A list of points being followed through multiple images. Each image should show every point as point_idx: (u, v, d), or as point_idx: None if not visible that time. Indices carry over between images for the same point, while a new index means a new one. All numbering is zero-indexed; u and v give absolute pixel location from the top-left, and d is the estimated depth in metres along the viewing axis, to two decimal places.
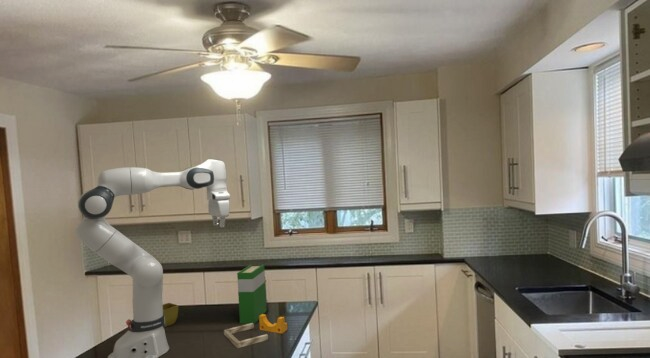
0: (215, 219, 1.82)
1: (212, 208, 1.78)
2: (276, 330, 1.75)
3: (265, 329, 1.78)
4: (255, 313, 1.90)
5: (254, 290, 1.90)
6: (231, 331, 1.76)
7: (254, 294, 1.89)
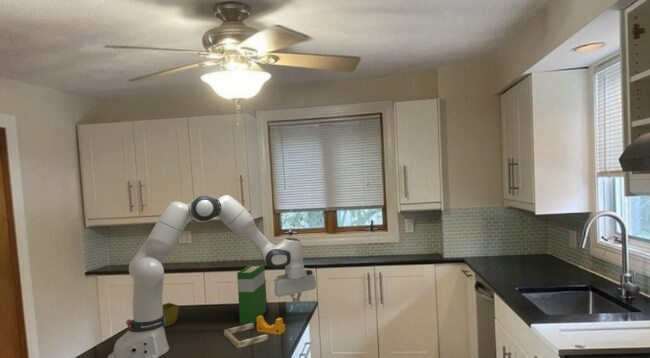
0: None
1: (292, 287, 1.82)
2: (274, 331, 1.74)
3: (263, 331, 1.77)
4: (255, 313, 1.90)
5: (254, 290, 1.90)
6: (231, 331, 1.76)
7: (254, 294, 1.89)
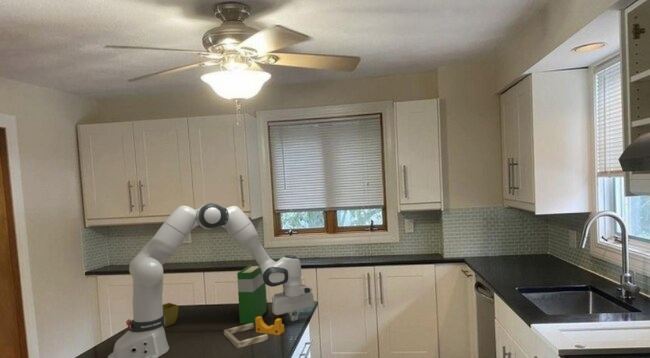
0: None
1: (289, 305, 1.81)
2: (273, 332, 1.73)
3: (262, 331, 1.76)
4: (255, 313, 1.90)
5: (254, 290, 1.90)
6: (231, 331, 1.76)
7: (254, 294, 1.89)
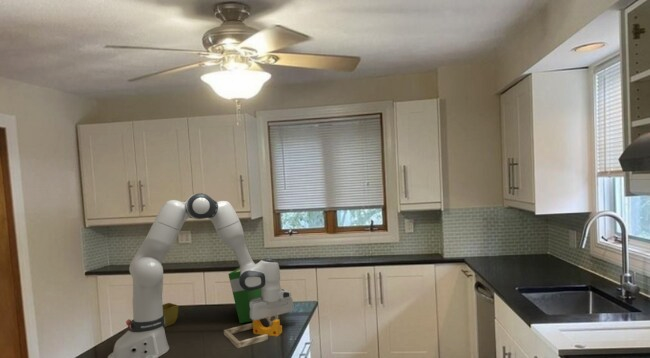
0: (269, 320, 1.78)
1: (268, 310, 1.76)
2: (271, 333, 1.72)
3: (259, 333, 1.74)
4: None
5: None
6: (231, 331, 1.76)
7: (249, 292, 1.90)
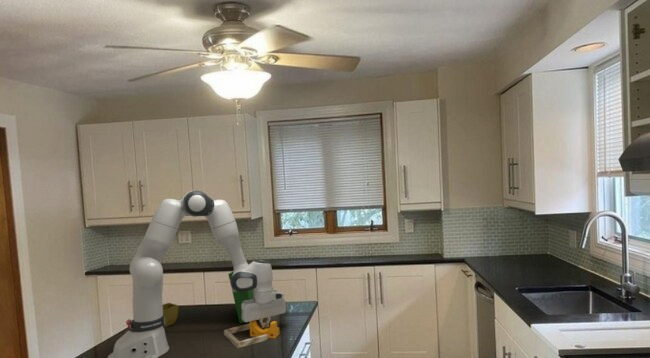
0: None
1: (260, 311, 1.74)
2: (269, 335, 1.70)
3: (256, 335, 1.72)
4: None
5: None
6: (231, 331, 1.76)
7: (249, 292, 1.90)
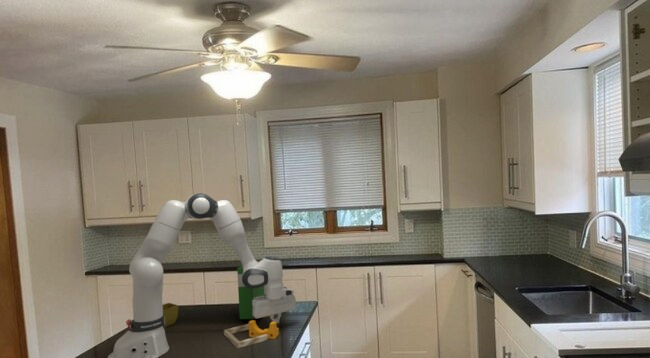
0: (272, 318, 1.78)
1: (270, 307, 1.76)
2: (268, 336, 1.69)
3: (256, 335, 1.71)
4: None
5: None
6: (231, 331, 1.76)
7: (254, 289, 1.91)
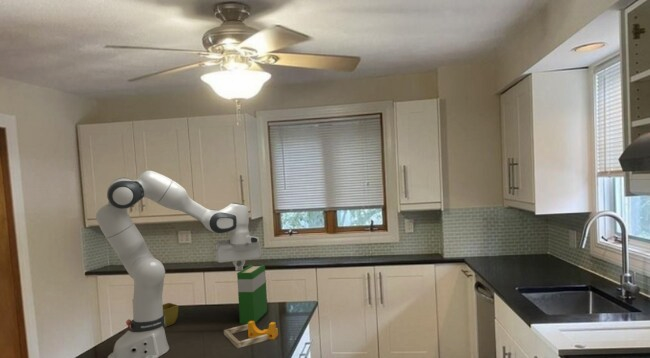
0: None
1: (234, 253, 1.74)
2: None
3: (255, 336, 1.71)
4: (255, 313, 1.89)
5: (254, 290, 1.89)
6: (231, 331, 1.76)
7: (254, 295, 1.89)
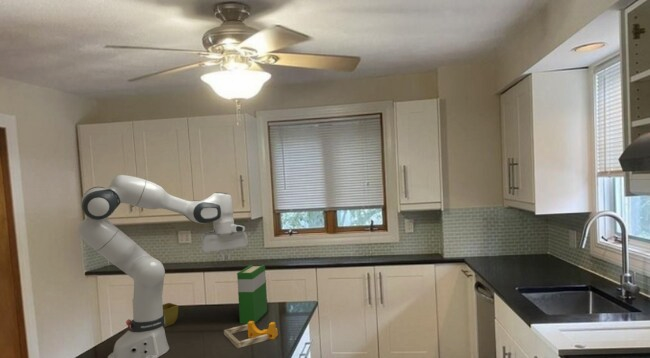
0: (222, 254, 1.75)
1: (220, 243, 1.72)
2: None
3: (254, 336, 1.71)
4: (255, 313, 1.89)
5: (254, 290, 1.89)
6: (231, 331, 1.76)
7: (254, 295, 1.89)
